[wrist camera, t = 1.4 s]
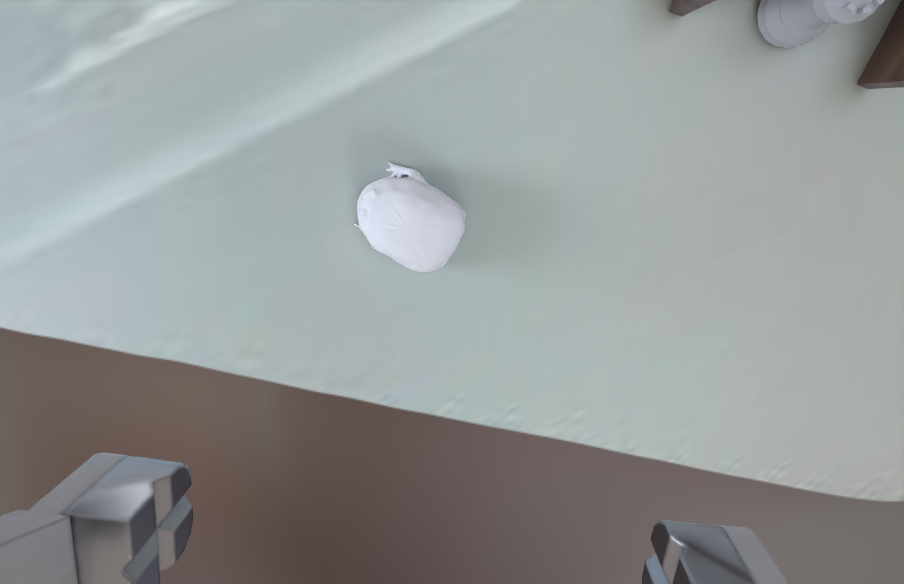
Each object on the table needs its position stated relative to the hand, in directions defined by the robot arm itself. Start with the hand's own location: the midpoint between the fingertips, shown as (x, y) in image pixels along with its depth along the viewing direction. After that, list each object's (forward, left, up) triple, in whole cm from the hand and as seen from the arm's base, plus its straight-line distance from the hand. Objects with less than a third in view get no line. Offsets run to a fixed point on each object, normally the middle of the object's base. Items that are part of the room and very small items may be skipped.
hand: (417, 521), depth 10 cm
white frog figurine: (0, -4, -35) cm, 35 cm away
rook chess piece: (-8, +24, -35) cm, 43 cm away
